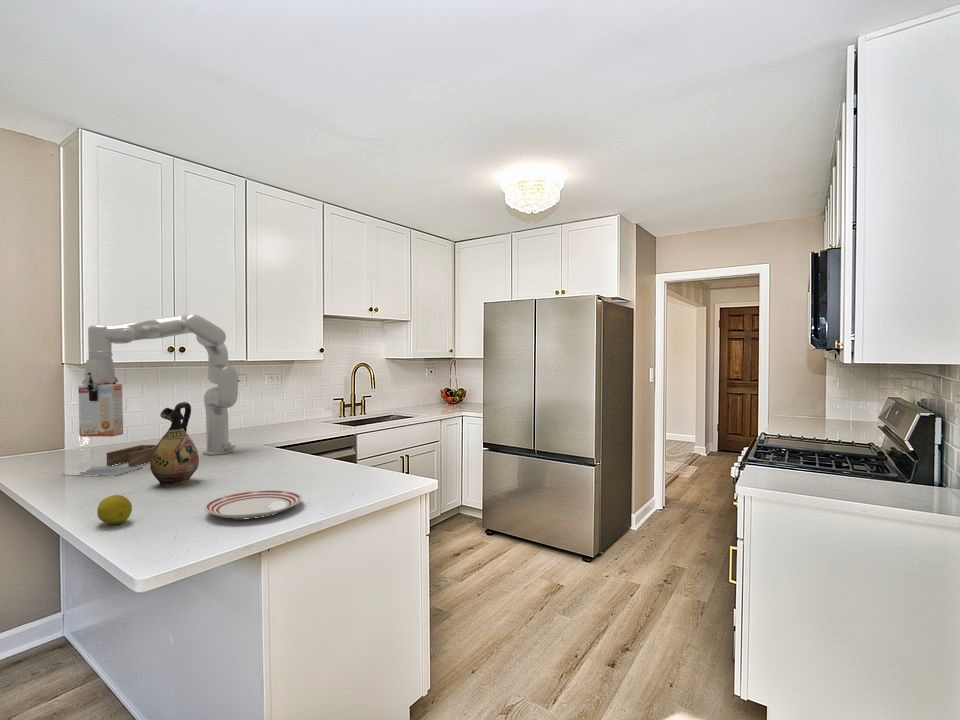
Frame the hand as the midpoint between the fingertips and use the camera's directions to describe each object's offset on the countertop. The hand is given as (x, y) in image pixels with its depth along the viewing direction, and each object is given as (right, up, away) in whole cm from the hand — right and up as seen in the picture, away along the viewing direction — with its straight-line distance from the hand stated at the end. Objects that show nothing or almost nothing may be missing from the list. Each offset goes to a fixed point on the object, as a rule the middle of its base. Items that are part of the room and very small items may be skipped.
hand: (101, 399), depth 204 cm
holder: (+2, -29, +17) cm, 34 cm away
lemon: (+49, -31, -60) cm, 84 cm away
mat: (0, -29, +1) cm, 29 cm away
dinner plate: (+84, -31, -49) cm, 102 cm away
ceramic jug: (+41, -30, -17) cm, 54 cm away
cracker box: (0, -15, 0) cm, 15 cm away
